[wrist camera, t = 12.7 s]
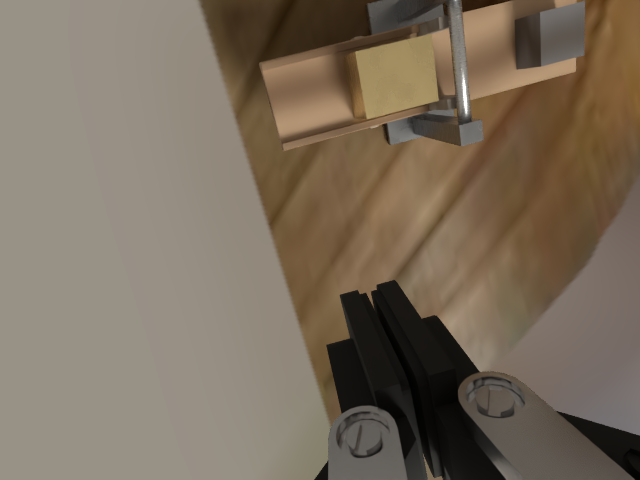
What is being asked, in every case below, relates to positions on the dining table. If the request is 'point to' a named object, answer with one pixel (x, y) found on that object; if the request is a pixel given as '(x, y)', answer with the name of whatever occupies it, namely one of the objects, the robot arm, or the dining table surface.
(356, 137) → the dining table surface
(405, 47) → the block
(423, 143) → the dining table surface
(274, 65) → the beam
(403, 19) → the stand
